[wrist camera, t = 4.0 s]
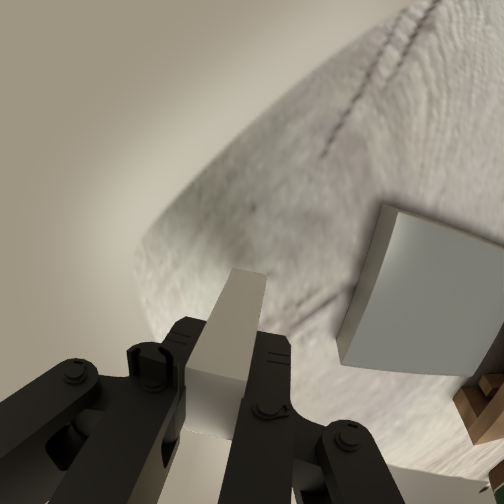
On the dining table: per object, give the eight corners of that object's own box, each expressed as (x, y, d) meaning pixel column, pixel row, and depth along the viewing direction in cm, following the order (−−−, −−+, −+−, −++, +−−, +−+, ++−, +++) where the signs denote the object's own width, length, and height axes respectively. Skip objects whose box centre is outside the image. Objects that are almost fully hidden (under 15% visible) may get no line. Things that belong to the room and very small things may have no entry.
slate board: (380, 202, 15) (398, 212, 12) (504, 247, 14) (528, 261, 11) (335, 336, 18) (340, 365, 15) (457, 353, 17) (472, 376, 14)
